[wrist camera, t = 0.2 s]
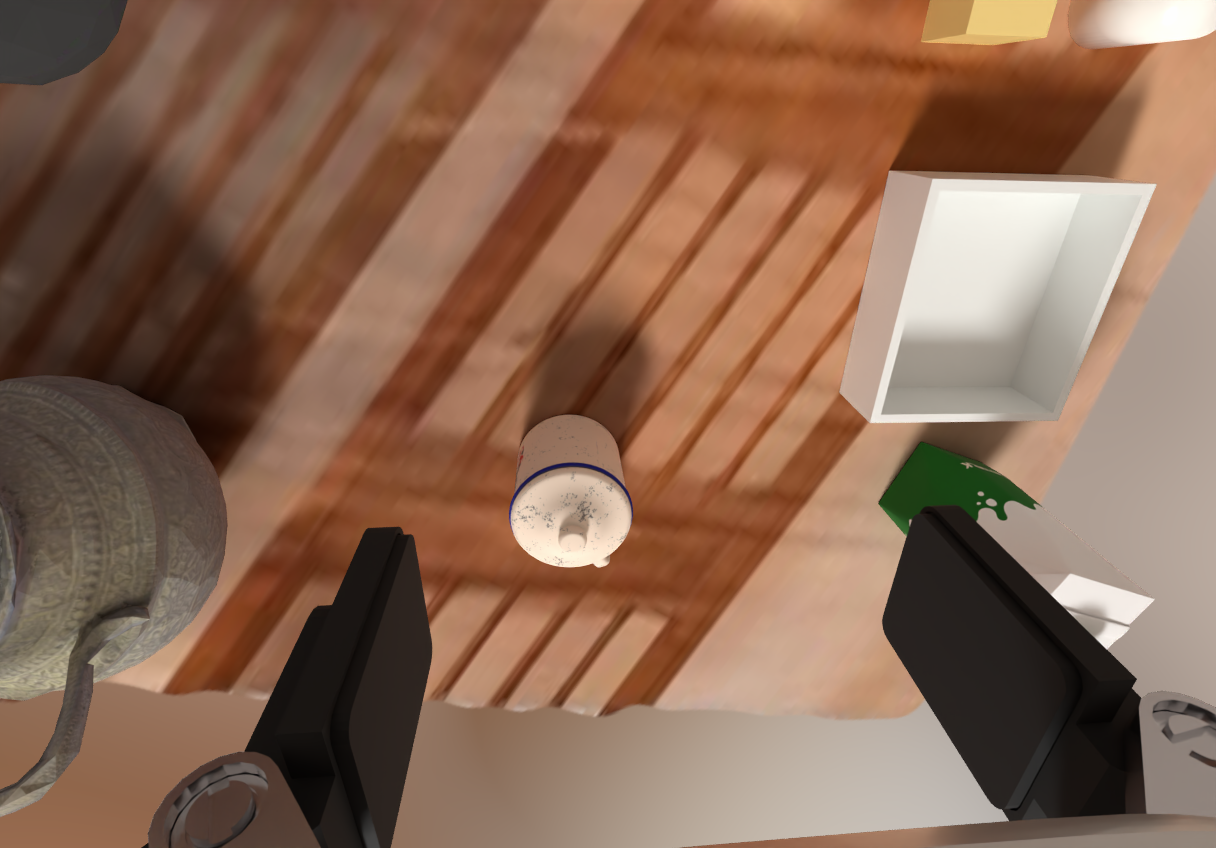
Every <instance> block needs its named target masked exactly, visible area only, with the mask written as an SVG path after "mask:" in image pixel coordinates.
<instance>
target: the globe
mask: <svg viewBox="0 0 1216 848" xmlns="http://www.w3.org/2000/svg"><path fill="white" fill-rule="evenodd" d="M126 3H127V0H0V83H11V84H30V85H43V84H46V83H49V82H52V81H55V80H58V79H61V78H64V77H66V76H69V75H72V74H75V73H78V72H80V71H81V70H82V69H84V68H85V67H86V66H87V65H89V64H90V63H91V62H93V61H94V60H95V59H96V58H98V57H99V56H100V55H102V54H103V53H104V52H105V50H106V49H107V47H108V46H109V44H110V43H111V41H112V40H113V38H114V37H115V35H116V34H117V32H118V30H119V26H120V23H121V20H122V16H123V13H124V10H125V7H126Z"/></svg>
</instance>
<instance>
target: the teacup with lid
mask: <svg viewBox="0 0 1216 848" xmlns="http://www.w3.org/2000/svg"><path fill="white" fill-rule="evenodd" d="M632 517H633V507H632V502H631V498H630V496H629V493H628V491H627V490H626V487H625V482H624V477H623V471H622V466H621V461H620V456H619V451H618V447H617V444H616V442H615V440H614V438H613V436H612V435H611V433H610V432H609V431H608V430H607V429H606V428H605V427H604V426H602V425H601V424H600V423H598V422H596V421H594V420H592V419H590V418H587V417H584V416H579V415H560V416H555V417H552V418H549V419H546V420H544V421H542V422H541V423H539V424H538V425H536V426H535V427H534V428H532V429H531V430H530V431H529V432H528V434H527V435H526V436H525V438H524V439H523V441H522V443H521V446H520V449H519V454H518V463H517V473H516V483H515V493H514V496H513V499H512V501H511V505H510V510H509V520H510V525H511V529H512V532H513V534H514V536H515V538H516V540H517V541H518V543H519V544H520V545H521V546H522V548H523V549H524V550H525V551H526V552H528V553H529V554H530V555H531V556H533V557H534V558H536V559H538V560H540V561H542V562H544V563H547V564H550V565H554V566H560V567H578V566H584V565H589V564H592V563H593V564H594V565H595V566H597V567H602V566H605V565H607V564H608V563H609V561H610V554H611V553H612V552H613V551H615V550H616V549H617V548H618V547H619V546H620V544H621V543H622V542H623V541H624V539H625V537H626V536H627V534H628V531H629V529H630V526H631V523H632Z"/></svg>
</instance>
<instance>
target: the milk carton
mask: <svg viewBox="0 0 1216 848" xmlns="http://www.w3.org/2000/svg"><path fill="white" fill-rule="evenodd" d="M878 504H879V505H880V506H881V507H882V508H883V510H884V511H885V512H886V513H887V514H888V515H889V517H890V518H891V519H892V520H893V521H894V522H895V524H896V525H897V526H898V527H899V528H900V529H901V531H902V532H903V533H904V534H905V535H906V536H907V534H908V531H909V527H910V524H911V521H912V518H913V517H914V516H915V515H916V514H919V513H920V511H921V510H922V509H923V508H924V507H926V506H937V505H958V506H960V507H961V508H963V509H964V510H965V511H966V512H967V513H968V514H969V515H970V516H971V517H972V518H973V519H974V520H975V521H976V522H977V523H978V524H979V525H980V526H981V527H982V528H983V529H984V530H985V531H986V532H987V533H989V534H990V535H991V536H992V537H993V538H994V539H995V540H996V541H997V542H998V543H999V544H1000V545H1001V546H1002V547H1003V548H1004V549H1005V550H1006V551H1007V552H1008V553H1009V554H1010V555H1011V556H1012V557H1013V558H1014V559H1015V560H1016V561H1017V562H1018V563H1019V564H1020V565H1021V566H1022V567H1023V568H1024V569H1025V570H1026V571H1027V572H1028V573H1029V574H1030V575H1031V576H1032V577H1033V578H1034V579H1035V580H1036V581H1037V582H1038V583H1039V584H1040V585H1042V586H1043V587H1044V588H1045V589H1046V590H1047V591H1048V592H1049V593H1050V594H1051V595H1052V596H1053V597H1054V598H1055V599H1056V600H1057V601H1058V602H1059V603H1060V604H1061V605H1062V606H1063V607H1064V608H1065V609H1066V610H1067V611H1068V612H1069V613H1070V614H1071V615H1072V616H1073V617H1074V618H1075V619H1076V620H1077V621H1078V622H1079V623H1080V624H1081V625H1082V626H1083V627H1084V628H1085V629H1086V630H1087V631H1088V632H1089V633H1090V634H1091V635H1092V636H1093V637H1095V638H1096V639H1097V640H1098V641H1099V642H1100V643H1101V644H1102V645H1103V646H1104V647H1105V648H1106V649H1107V648H1109V647H1110V646H1111V645H1112V644H1113V643H1114V642H1115V641H1116V640H1117V639H1119V638H1120V637H1121V636H1123V635H1124V634H1125V633H1126V632H1127V631H1128V630H1129V628H1130V627H1129V624H1130V623H1131V622H1132V621H1133V620H1134V619H1135V618H1136V617H1137V616H1138V615H1139V614H1140V613H1141V612H1142V611H1143V610H1144V609H1146V608H1147V607H1148V606H1149V605H1150V603H1152V602H1153V600H1154V598H1153V597H1152V596H1150V595H1149V594H1148V593H1147V592H1145V591H1144V590H1143V589H1142V588H1140V587H1139V586H1138V585H1137V584H1136V583H1134V582H1133V581H1132V580H1131V579H1129V578H1128V577H1127V576H1126V575H1124V574H1123V573H1122V572H1121V571H1119V570H1118V569H1117V568H1116V567H1115V566H1114V565H1112V564H1111V563H1110V562H1109V561H1108V560H1106V559H1105V558H1104V557H1103V556H1101V555H1100V554H1099V553H1098V552H1097V551H1095V550H1094V549H1093V548H1092V547H1091V546H1090V545H1088V544H1087V543H1086V542H1085V541H1083V540H1082V539H1081V538H1080V537H1078V536H1077V535H1076V534H1075V533H1074V532H1073V531H1071V530H1070V529H1069V528H1067V527H1066V526H1065V525H1064V524H1063V523H1062V522H1060V521H1059V520H1058V519H1057V518H1055V517H1054V516H1053V515H1051V514H1050V513H1049V512H1048V511H1047V510H1046V509H1044V508H1043V507H1042V506H1041V505H1039V504H1038V503H1037V502H1036V501H1035V500H1033V499H1032V498H1031V497H1030V496H1028V495H1027V494H1026V493H1025V492H1024V491H1022V490H1021V489H1020V488H1019V487H1017V486H1016V485H1015V484H1014V483H1012V482H1011V481H1010V480H1009V479H1007V478H1006V477H1005V476H1003V475H1002V474H1000V473H998V472H997V471H995V470H993V469H991V468H990V467H988V466H986V465H985V464H983V463H981V462H979V461H976V460H973V459H970V458H967V457H964V456H961V455H958V454H956V453H953V452H950V451H947V450H944V449H941V448H938V447H935V446H932V445H930V444H927V443H924V442H920V444H919V445H918V447H917V448H916V450H915V451H914V452H913V454H912V455H911V457H910V458H909V460H908V461H907V463H906V464H905V465H904V467H903V468H902V470H901V471H900V473H899V474H898V476H897V477H896V478H895V480H894V481H893V483H892V484H891V486H890V487H889V489H888V490H887V492H886V493H885V494H884V496H883V497H882V499H881V500H880V502H879V503H878Z"/></svg>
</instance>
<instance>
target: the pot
mask: <svg viewBox="0 0 1216 848" xmlns="http://www.w3.org/2000/svg"><path fill="white" fill-rule="evenodd" d="M226 534H227V512H226V504H225V500H224V496H223V492H222V489H221V485H220V482H219V479H218V476H217V473H216V471H215V469H214V467H213V465H212V463H211V462H210V460H209V459H208V457H207V455H206V454H205V452H204V451H203V450H202V448H201V447H200V446H199V444H198V443H197V442H196V439H195V437H194V436H193V434H192V432H191V430H190V429H189V427H188V425H187V423H186V422H185V420H184V418H183V416H181V415H179V414H177V413H176V412H174V411H172V410H170V409H168V408H166V407H164V406H161V405H158V404H155V403H152V402H150V401H147V400H145V399H143V398H141V397H139V396H137V395H135V394H133V393H131V392H129V391H128V390H126V389H124V388H123V387H121V386H119V385H109V384H106V383H103V382H100V381H95V380H90V379H85V378H80V377H70V376H52V375H43V376H31V377H22V378H14V379H6V380H3V381H0V698H4V699H13V700H28V699H31V698H34V697H36V696H39V695H42V694H45V693H48V692H51V691H57V690H65V693H64V699H63V706H62V709H61V712H60V715H59V718H58V721H57V725H56V729H55V733H54V734H53V736H52V738H51V740H50V742H49V744H48V746H47V748H46V750H45V751H44V753H43V755H42V757H41V758H40V760H39V762H38V763H37V764H36V765H35V766H34V767H33V768H32V769H31V770H29V771H28V772H27V773H26V774H25V775H24V776H23V777H22V778H21V779H20V780H19V781H18V782H17V783H15V784H12V785H10V786H8V787H5V788H3V789H1V790H0V817H1V816H4V815H7V814H9V813H12V812H15V811H17V810H19V809H22V808H24V807H26V806H28V805H30V804H32V803H34V802H36V801H38V800H40V799H41V798H42V797H43V796H44V795H45V793H46V792H47V791H48V790H49V789H50V788H51V786H52V785H53V784H54V783H55V782H56V781H57V779H58V778H59V777H60V775H61V774H62V773H63V772H64V771H65V769H66V768H67V767H68V765H69V764H70V763H71V762H72V761H73V759H74V758H75V757H76V756H77V754H78V753H79V751H80V746H81V742H82V738H83V733H84V729H85V724H86V720H87V715H88V711H89V706H90V702H91V697H92V693H93V683H95V682H98V681H100V680H103V679H105V678H108V677H110V676H112V675H115V674H117V673H119V672H121V671H124V670H126V669H128V668H130V667H133V666H135V665H137V664H139V663H141V662H143V661H144V660H146V659H147V658H149V657H150V656H152V655H153V654H155V653H156V652H157V651H159V650H160V649H162V648H163V647H164V646H166V645H167V644H169V643H170V642H171V641H172V640H173V639H174V638H175V637H176V636H177V635H178V634H179V633H180V632H182V631H183V630H184V629H185V628H186V627H187V626H188V625H189V624H190V623H191V622H192V621H193V620H194V618H195V617H196V616H197V614H198V613H199V611H200V610H201V608H202V607H203V605H204V604H205V602H206V601H207V599H208V598H209V596H210V594H211V593H212V591H213V590H214V588H215V587H216V585H217V581H218V578H219V574H220V570H221V566H222V563H223V559H224V555H225V545H226Z"/></svg>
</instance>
